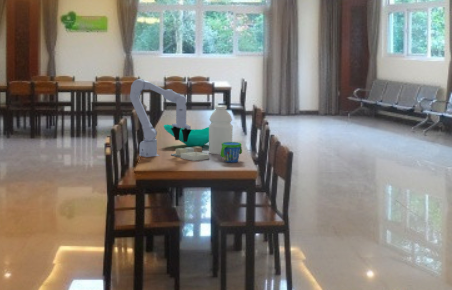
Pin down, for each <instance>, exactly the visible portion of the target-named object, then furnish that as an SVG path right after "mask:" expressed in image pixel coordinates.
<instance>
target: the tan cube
mask: <svg viewBox="0 0 452 290" xmlns="http://www.w3.org/2000/svg"><path fill="white" fill-rule="evenodd" d="M191 148H194V152H200V153H202V152H203V146H200V147H199V146H196V147H191Z"/></svg>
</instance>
